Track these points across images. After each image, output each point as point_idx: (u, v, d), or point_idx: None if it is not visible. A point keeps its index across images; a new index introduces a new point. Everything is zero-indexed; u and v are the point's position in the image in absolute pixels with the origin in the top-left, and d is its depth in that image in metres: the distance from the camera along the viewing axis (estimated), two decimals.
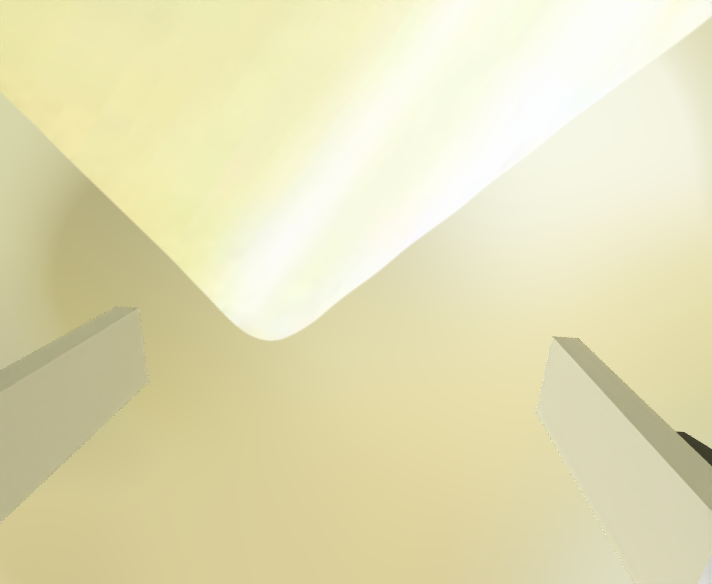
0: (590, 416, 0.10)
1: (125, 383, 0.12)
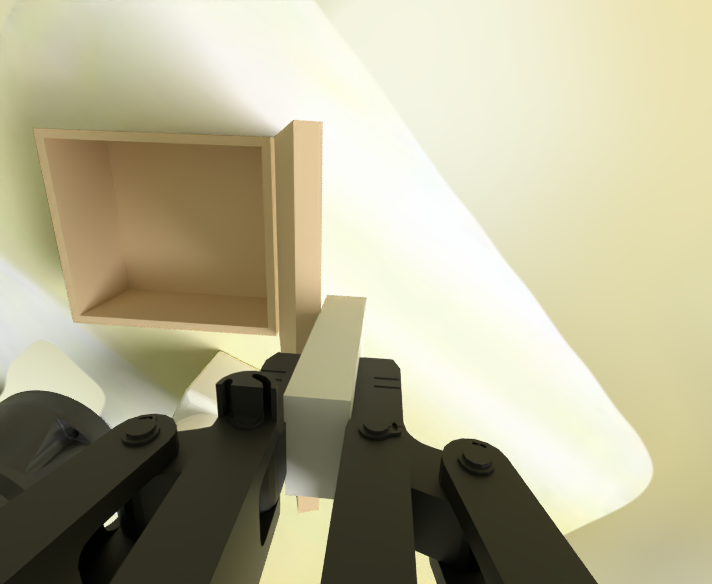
0: None
1: None
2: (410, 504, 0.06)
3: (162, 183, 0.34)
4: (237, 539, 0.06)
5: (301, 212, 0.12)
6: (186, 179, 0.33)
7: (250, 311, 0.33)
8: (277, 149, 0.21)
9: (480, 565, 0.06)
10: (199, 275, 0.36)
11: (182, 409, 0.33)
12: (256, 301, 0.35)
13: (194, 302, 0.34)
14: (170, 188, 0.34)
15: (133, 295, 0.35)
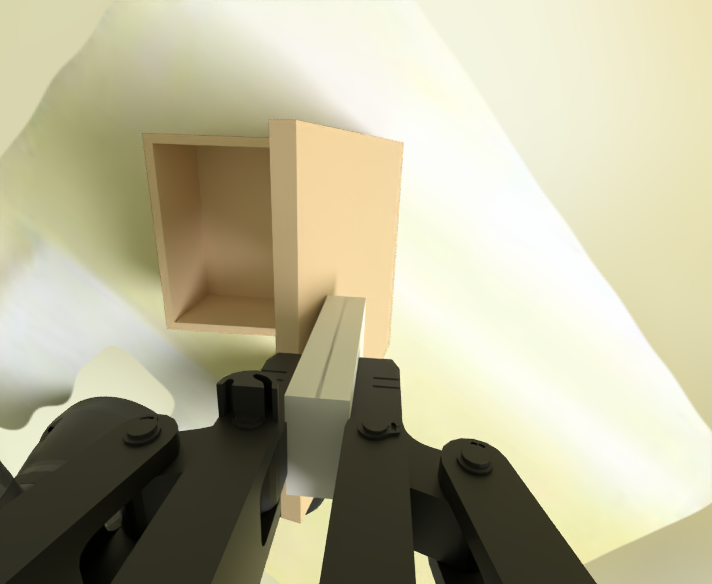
0: None
1: None
2: (409, 504, 0.06)
3: (250, 188, 0.33)
4: (238, 539, 0.06)
5: (278, 213, 0.12)
6: None
7: None
8: None
9: (479, 565, 0.06)
10: None
11: None
12: None
13: None
14: (258, 193, 0.33)
15: (216, 301, 0.35)
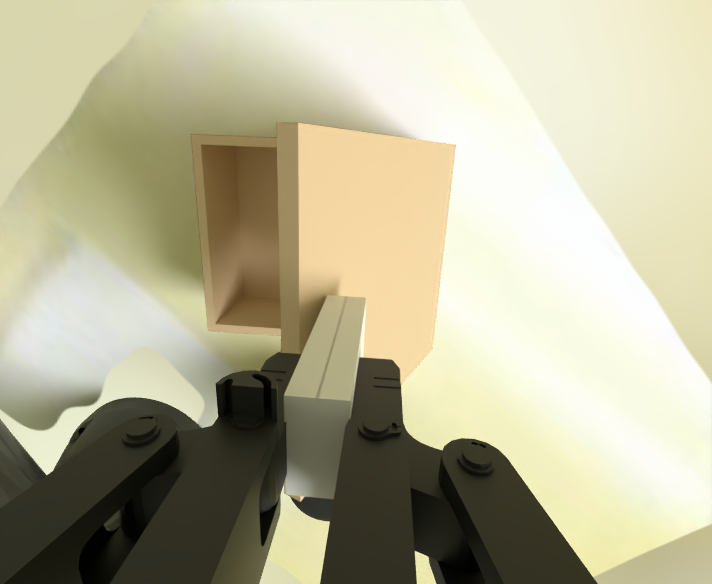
0: None
1: None
2: (410, 504, 0.06)
3: None
4: (237, 539, 0.06)
5: (283, 208, 0.13)
6: None
7: None
8: None
9: (480, 565, 0.06)
10: None
11: None
12: None
13: None
14: None
15: (252, 302, 0.35)
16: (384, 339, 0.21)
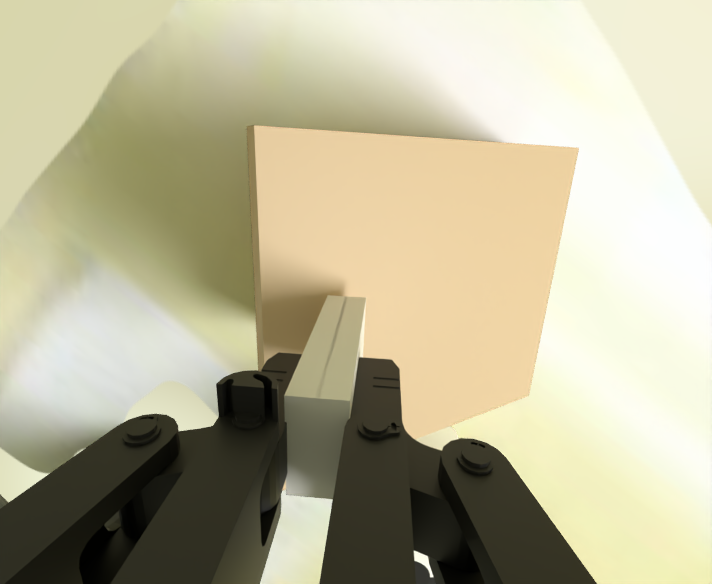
0: None
1: None
2: (409, 504, 0.06)
3: None
4: (238, 539, 0.06)
5: (252, 208, 0.13)
6: None
7: None
8: None
9: (479, 565, 0.06)
10: None
11: None
12: None
13: None
14: None
15: None
16: (419, 364, 0.18)
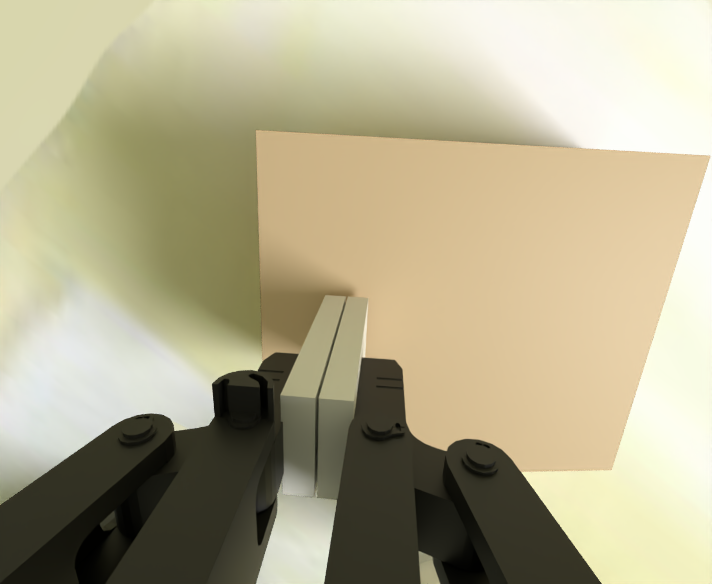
0: None
1: None
2: (414, 505, 0.06)
3: None
4: (234, 539, 0.06)
5: None
6: None
7: None
8: None
9: (484, 565, 0.06)
10: None
11: (419, 551, 0.22)
12: None
13: None
14: None
15: None
16: (440, 392, 0.17)
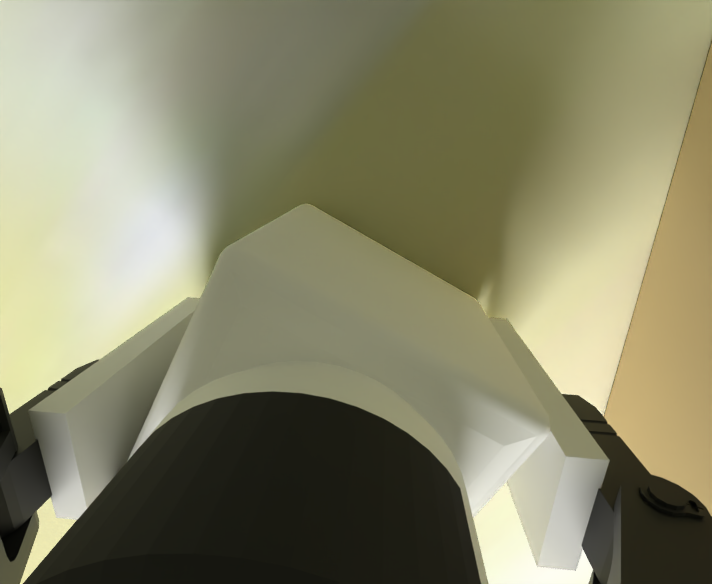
0: None
1: None
2: None
3: None
4: None
5: None
6: None
7: None
8: None
9: None
10: None
11: (462, 407, 0.07)
12: None
13: None
14: None
15: None
16: None
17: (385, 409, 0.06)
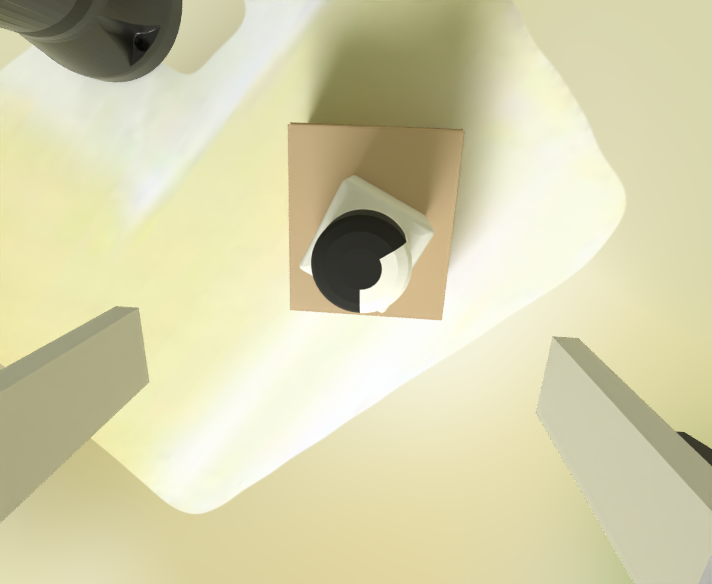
0: (590, 416, 0.10)
1: (125, 383, 0.12)
2: None
3: None
4: None
5: None
6: None
7: None
8: None
9: None
10: None
11: (408, 224, 0.27)
12: None
13: None
14: None
15: None
16: None
17: (387, 215, 0.25)
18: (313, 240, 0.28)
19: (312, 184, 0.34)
